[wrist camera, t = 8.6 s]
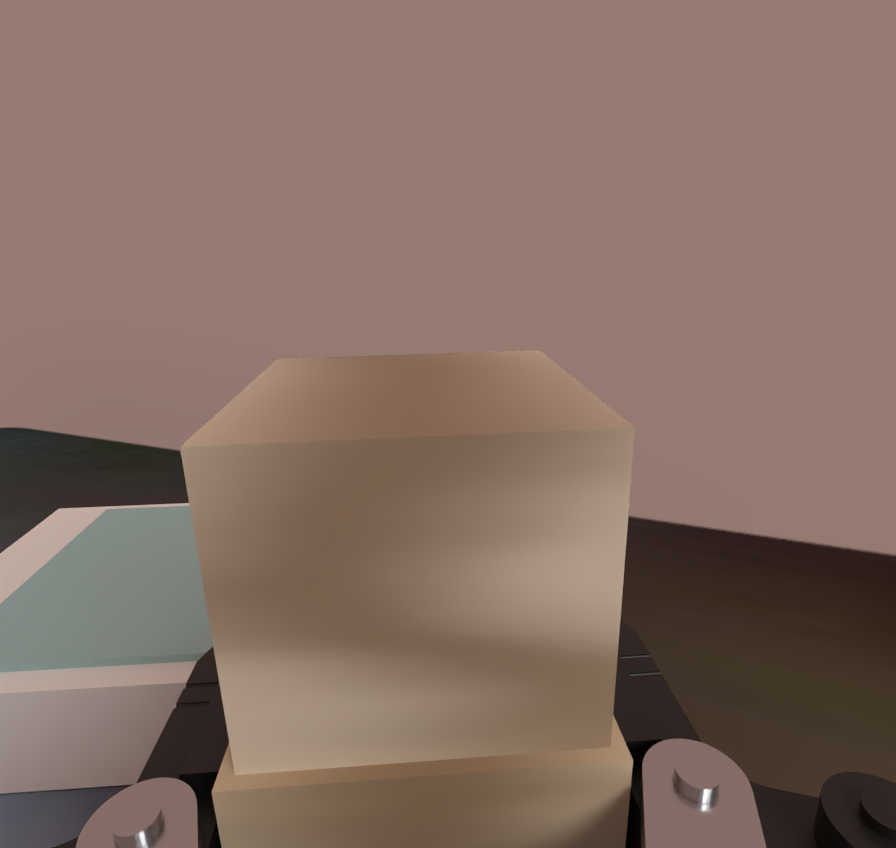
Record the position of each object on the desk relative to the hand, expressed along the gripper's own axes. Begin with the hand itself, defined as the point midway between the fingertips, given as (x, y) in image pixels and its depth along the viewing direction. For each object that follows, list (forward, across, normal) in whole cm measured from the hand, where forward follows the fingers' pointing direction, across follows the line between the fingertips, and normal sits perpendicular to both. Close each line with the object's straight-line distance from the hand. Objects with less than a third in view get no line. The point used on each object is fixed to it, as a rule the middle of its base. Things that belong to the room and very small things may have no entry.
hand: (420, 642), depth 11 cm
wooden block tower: (-2, 0, +7) cm, 7 cm away
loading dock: (+14, +10, +10) cm, 20 cm away
